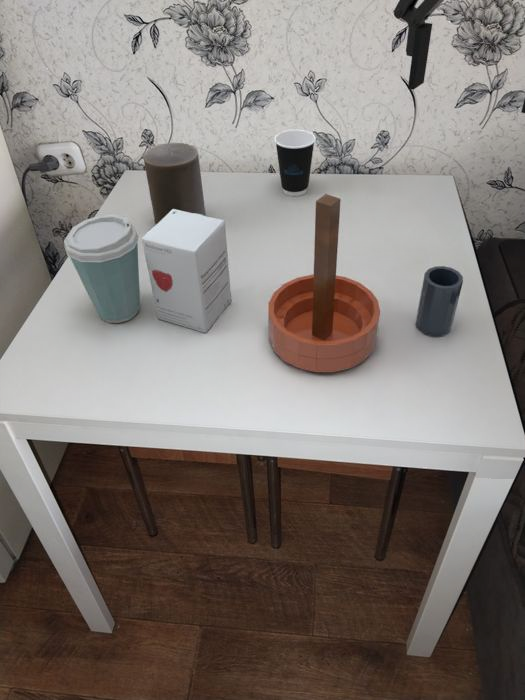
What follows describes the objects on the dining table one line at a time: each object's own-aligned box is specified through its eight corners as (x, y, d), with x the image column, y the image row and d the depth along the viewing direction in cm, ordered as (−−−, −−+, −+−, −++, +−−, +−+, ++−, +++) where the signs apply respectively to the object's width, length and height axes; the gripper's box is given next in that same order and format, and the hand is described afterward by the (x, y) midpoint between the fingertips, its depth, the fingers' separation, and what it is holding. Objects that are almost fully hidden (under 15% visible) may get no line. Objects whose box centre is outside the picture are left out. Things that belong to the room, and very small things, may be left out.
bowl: (394, 329, 88) (399, 298, 84) (338, 392, 79) (341, 361, 75) (308, 292, 95) (309, 262, 91) (248, 346, 87) (246, 315, 82)
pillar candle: (173, 242, 108) (160, 164, 97) (146, 220, 113) (131, 145, 103) (216, 223, 112) (208, 147, 101) (188, 203, 117) (178, 129, 107)
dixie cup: (302, 177, 124) (302, 125, 116) (321, 193, 118) (323, 140, 111) (268, 187, 121) (266, 134, 114) (287, 204, 116) (286, 150, 108)
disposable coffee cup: (83, 336, 90) (56, 253, 79) (87, 293, 97) (63, 213, 87) (153, 327, 91) (135, 244, 80) (152, 285, 98) (135, 205, 88)
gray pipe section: (457, 322, 89) (469, 274, 83) (441, 342, 86) (453, 293, 80) (425, 309, 91) (435, 261, 85) (409, 328, 88) (418, 280, 82)
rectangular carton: (155, 319, 92) (138, 237, 82) (185, 287, 98) (172, 206, 87) (206, 334, 89) (195, 251, 79) (233, 300, 95) (226, 218, 84)
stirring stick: (332, 332, 87) (340, 198, 72) (324, 341, 86) (330, 206, 71) (320, 327, 88) (325, 193, 73) (311, 335, 87) (315, 201, 72)
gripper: (375, -140, 57) (359, 86, 72) (660, -136, 46) (571, 133, 60) (411, -147, 61) (388, 68, 76) (680, -145, 50) (592, 108, 64)
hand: (469, 97), depth 68 cm, fingers open, 13 cm apart
